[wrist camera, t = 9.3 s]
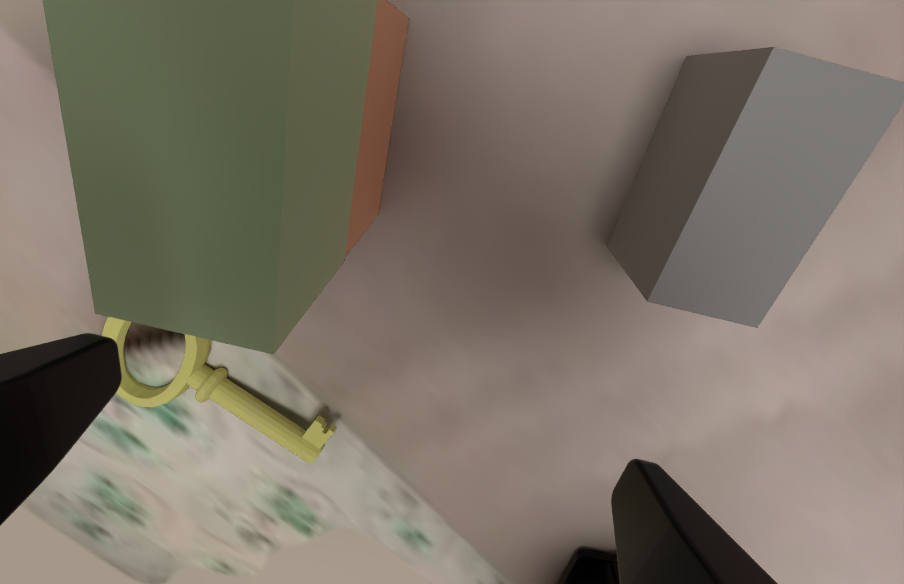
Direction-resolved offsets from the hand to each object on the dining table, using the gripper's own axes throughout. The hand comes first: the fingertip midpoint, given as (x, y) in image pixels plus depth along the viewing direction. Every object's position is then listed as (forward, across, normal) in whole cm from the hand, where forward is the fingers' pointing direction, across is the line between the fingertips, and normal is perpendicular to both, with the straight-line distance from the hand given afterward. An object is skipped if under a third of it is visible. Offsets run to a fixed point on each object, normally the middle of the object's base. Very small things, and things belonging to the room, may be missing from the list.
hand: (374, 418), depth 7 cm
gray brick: (+12, -9, -4) cm, 15 cm away
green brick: (+6, +4, -3) cm, 8 cm away
